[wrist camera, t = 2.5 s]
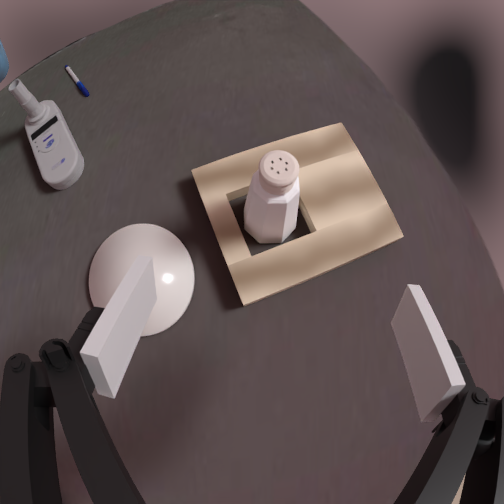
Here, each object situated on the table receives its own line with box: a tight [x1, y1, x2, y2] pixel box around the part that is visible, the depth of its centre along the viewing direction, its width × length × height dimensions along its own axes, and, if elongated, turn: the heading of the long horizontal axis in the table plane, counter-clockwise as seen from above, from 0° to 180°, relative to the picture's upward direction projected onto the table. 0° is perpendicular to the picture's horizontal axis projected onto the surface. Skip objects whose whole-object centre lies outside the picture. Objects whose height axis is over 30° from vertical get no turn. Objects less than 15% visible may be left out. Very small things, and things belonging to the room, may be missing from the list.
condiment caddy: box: [191, 123, 404, 306], centre depth 31 cm, size 14×17×2 cm
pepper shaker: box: [244, 150, 300, 243], centre depth 27 cm, size 5×5×11 cm
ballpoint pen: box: [65, 65, 89, 97], centre depth 37 cm, size 10×1×1 cm, turn 42°
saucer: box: [89, 224, 195, 336], centre depth 30 cm, size 11×11×1 cm
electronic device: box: [8, 79, 84, 190], centre depth 30 cm, size 5×10×15 cm
